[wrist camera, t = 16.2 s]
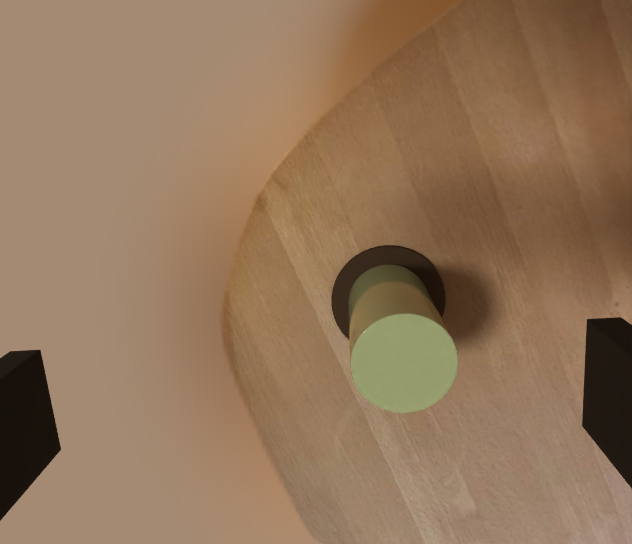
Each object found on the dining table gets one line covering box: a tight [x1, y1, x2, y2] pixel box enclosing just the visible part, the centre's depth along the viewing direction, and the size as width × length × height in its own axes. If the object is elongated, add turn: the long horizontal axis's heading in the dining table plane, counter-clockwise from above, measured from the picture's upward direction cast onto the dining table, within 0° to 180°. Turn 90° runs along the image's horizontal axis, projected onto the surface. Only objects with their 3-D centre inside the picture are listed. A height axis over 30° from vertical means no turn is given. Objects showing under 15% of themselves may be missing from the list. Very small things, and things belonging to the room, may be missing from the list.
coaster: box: [332, 246, 445, 339], centre depth 46 cm, size 9×9×1 cm
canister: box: [348, 265, 458, 413], centre depth 40 cm, size 6×6×12 cm
